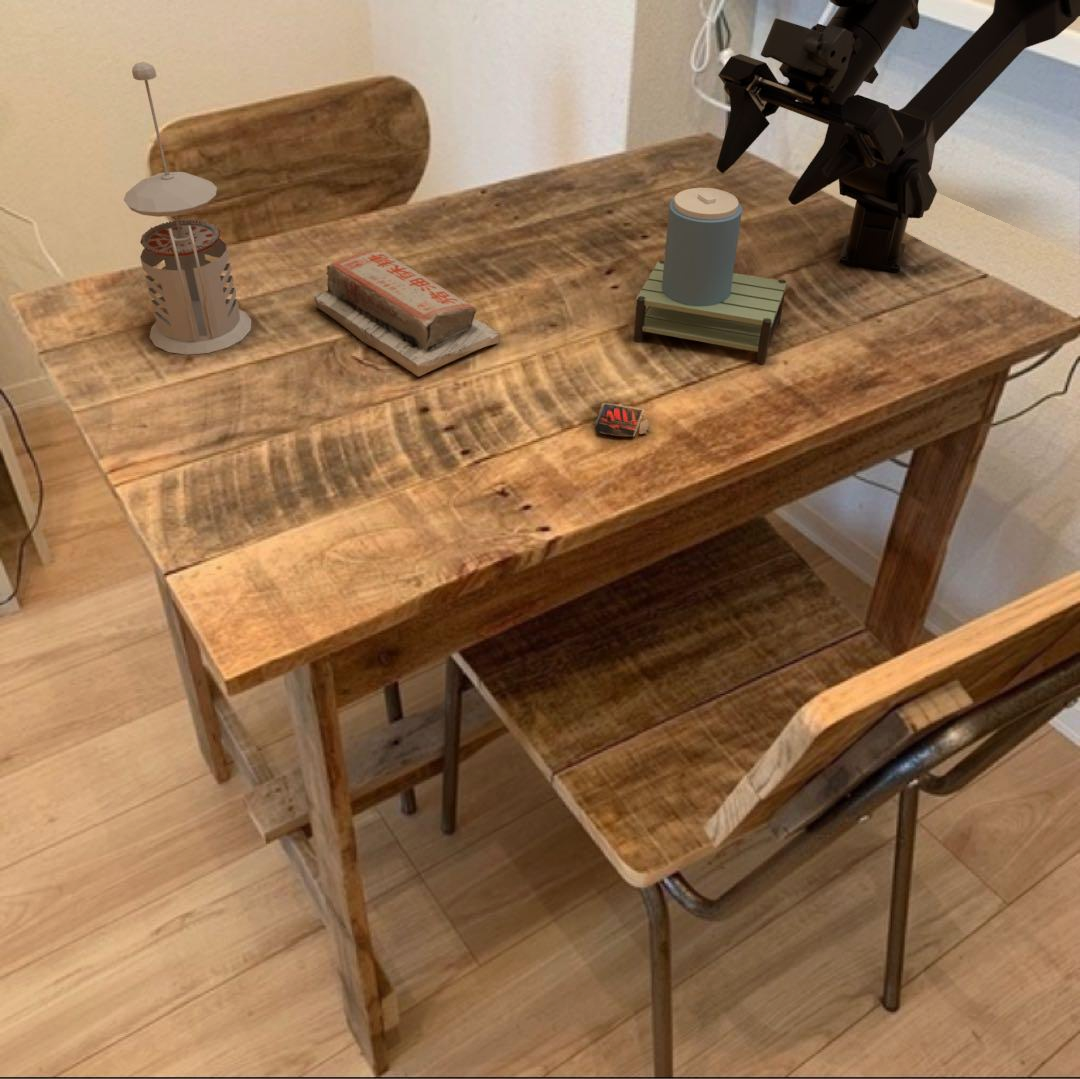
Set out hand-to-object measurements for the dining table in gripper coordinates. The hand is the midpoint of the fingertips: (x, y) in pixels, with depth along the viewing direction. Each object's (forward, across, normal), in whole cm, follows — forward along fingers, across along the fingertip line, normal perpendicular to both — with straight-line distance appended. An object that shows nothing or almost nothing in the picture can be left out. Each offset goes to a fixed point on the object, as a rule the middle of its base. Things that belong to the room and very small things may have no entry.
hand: (754, 185), depth 100 cm
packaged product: (+30, -18, -11) cm, 36 cm away
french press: (+41, -28, -22) cm, 55 cm away
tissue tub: (+11, 0, +2) cm, 11 cm away
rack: (+13, +1, +6) cm, 14 cm away
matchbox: (+25, +8, -7) cm, 27 cm away
